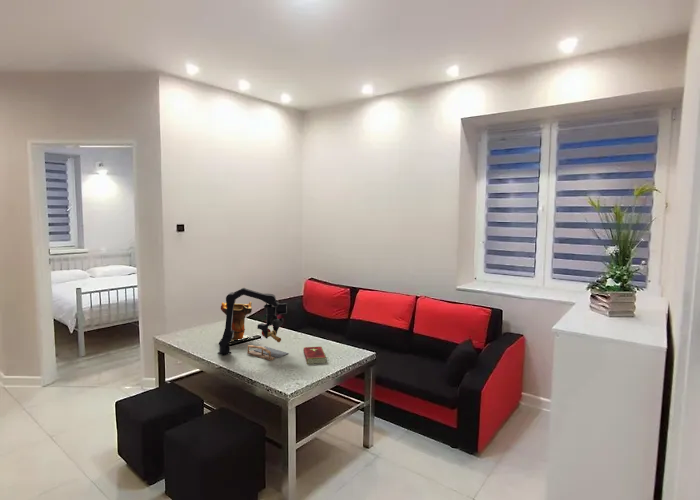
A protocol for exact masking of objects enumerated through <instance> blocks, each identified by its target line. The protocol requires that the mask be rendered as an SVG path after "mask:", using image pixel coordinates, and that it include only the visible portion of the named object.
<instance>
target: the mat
mask: <svg viewBox="0 0 700 500" xmlns="http://www.w3.org/2000/svg"><path fill="white" fill-rule="evenodd" d="M263 347H264V348H266V349H268V350H269V351H271V357H275V358H276V359H280V358H282V357H284V356H287V355H289V352H286V351H282V350H279V349H276V348H272V347H268V346H267V345H266V346H263ZM253 351H255V352H259V353H262V349H257V348H255V349H253ZM263 354H265V355H268V356H269V353H267V352H265V351H264V350H263Z"/></svg>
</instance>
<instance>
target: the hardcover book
mask: <svg viewBox="0 0 700 500" xmlns="http://www.w3.org/2000/svg"><path fill="white" fill-rule="evenodd" d="M302 351H303V355H304V358H305V362H306V364H307V365H308V364H309V365H310V364H323V362H325V363H326V359H327V356H326V354H325V353H326V352H325V351H324V349H323V347H322V346H305V347H303V350H302Z"/></svg>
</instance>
